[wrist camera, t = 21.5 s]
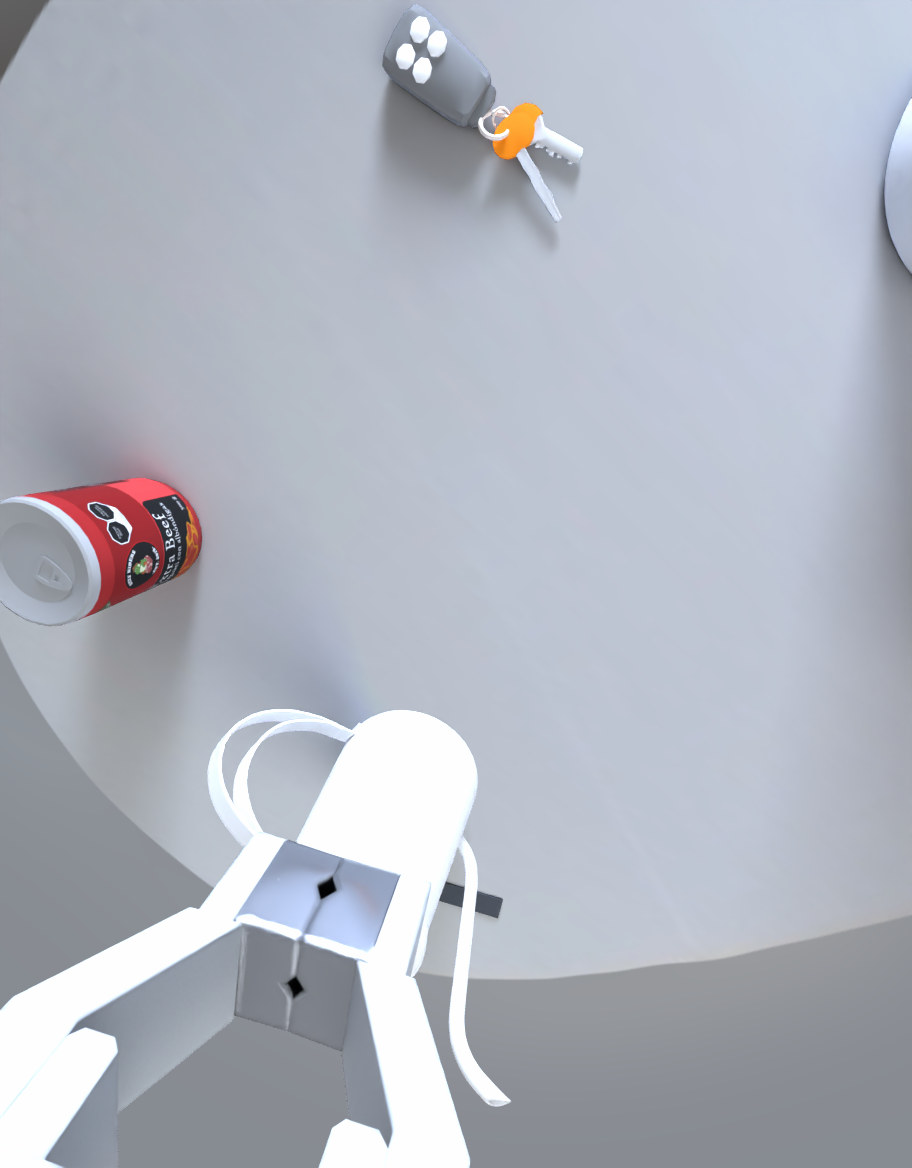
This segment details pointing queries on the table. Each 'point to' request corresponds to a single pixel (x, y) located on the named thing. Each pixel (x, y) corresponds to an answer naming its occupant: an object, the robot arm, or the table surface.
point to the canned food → (92, 547)
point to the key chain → (468, 94)
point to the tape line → (483, 901)
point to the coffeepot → (386, 821)
